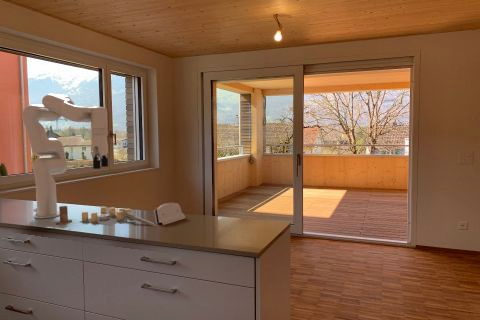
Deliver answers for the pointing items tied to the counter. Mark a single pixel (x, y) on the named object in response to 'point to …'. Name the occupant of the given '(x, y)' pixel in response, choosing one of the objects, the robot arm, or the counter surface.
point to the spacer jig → (114, 216)
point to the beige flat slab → (168, 213)
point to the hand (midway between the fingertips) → (100, 167)
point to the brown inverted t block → (63, 216)
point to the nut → (103, 217)
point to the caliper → (135, 218)
